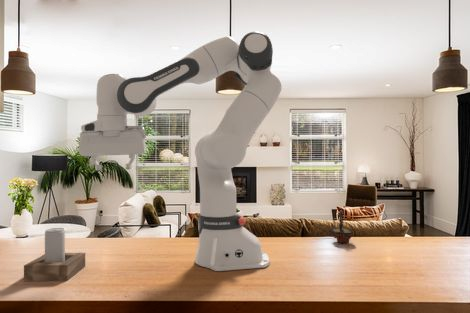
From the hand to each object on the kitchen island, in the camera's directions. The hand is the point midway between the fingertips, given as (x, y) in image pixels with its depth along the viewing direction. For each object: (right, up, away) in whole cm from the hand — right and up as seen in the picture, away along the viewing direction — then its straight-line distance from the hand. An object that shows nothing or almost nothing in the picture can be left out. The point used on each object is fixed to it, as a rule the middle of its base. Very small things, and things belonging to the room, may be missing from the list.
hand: (113, 169), depth 106 cm
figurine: (+78, -28, +17) cm, 84 cm away
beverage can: (-11, -28, -15) cm, 33 cm away
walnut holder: (-10, -28, -15) cm, 33 cm away
